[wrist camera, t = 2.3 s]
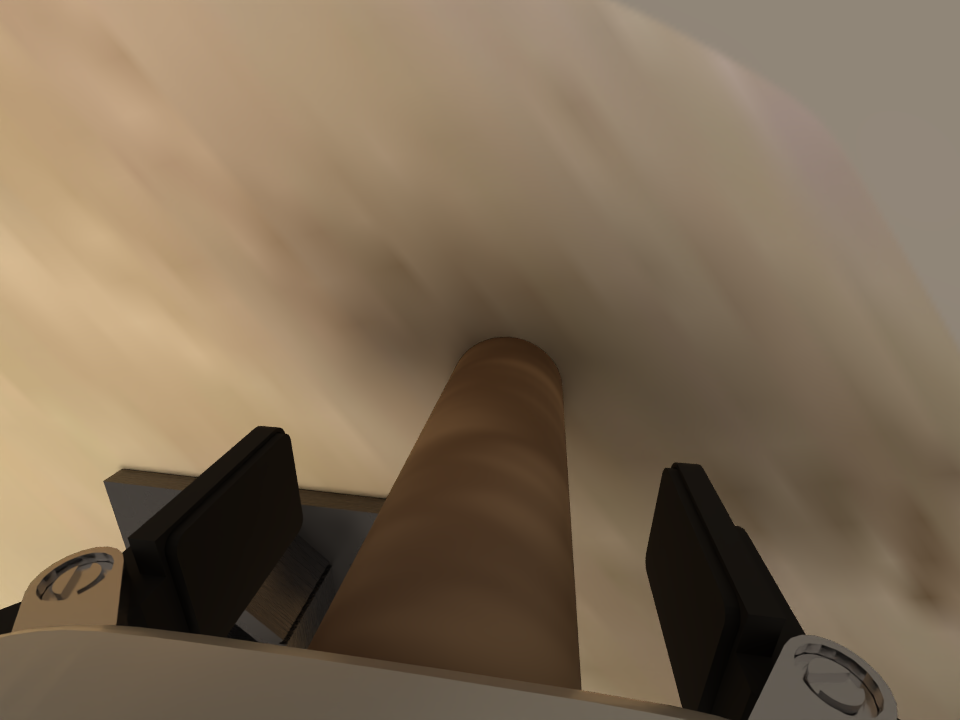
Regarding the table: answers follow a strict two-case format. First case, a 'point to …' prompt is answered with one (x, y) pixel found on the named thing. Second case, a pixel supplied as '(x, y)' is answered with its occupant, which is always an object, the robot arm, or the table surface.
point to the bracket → (298, 574)
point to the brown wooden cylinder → (473, 534)
